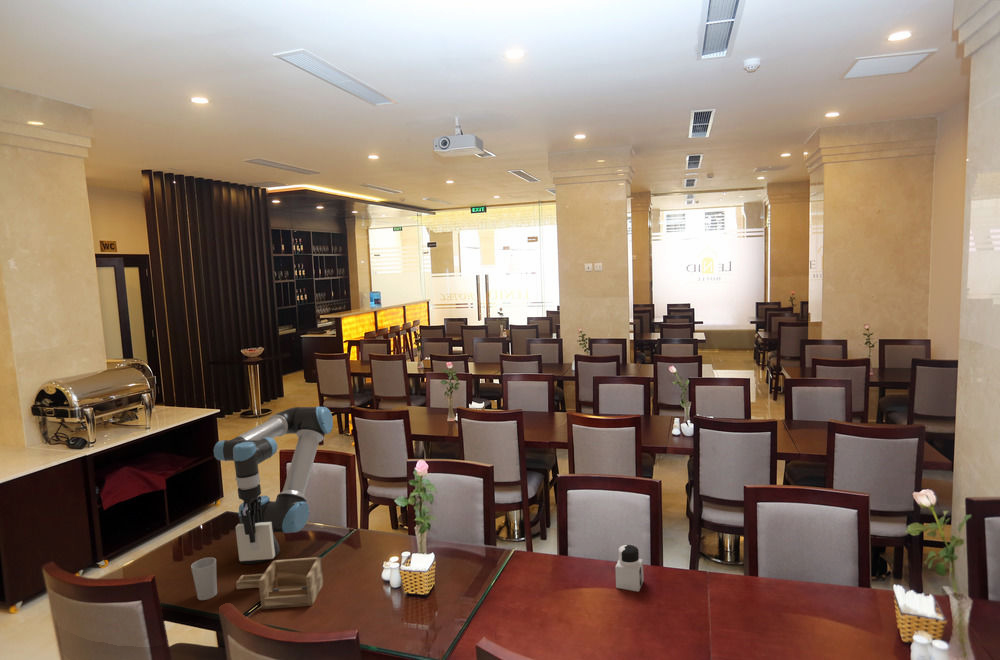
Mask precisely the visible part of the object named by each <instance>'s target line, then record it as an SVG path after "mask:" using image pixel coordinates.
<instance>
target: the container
mask: <svg viewBox="0 0 1000 660" xmlns="http://www.w3.org/2000/svg"><path fill="white" fill-rule="evenodd" d="M639 552H640V551H639V548H638V547H637V546H635V545H631V544H625V545H621V546H620V547H619V548H618V560H617V563H616V564H615V587H616V588H617V589H622V590H626V591H632V592H640V590H641V589H642V588H641V587H642V585H643V584H644V559H643V558H640V556H639V555H640V554H639Z"/></svg>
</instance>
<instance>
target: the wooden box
mask: <svg viewBox="0 0 1000 660" xmlns="http://www.w3.org/2000/svg"><path fill="white" fill-rule="evenodd" d="M322 566H323V565H322V557H321V556H317V557H316V556H315V557H303V558H302V557H301V558H289V559H287V558H286V559H276V560H273V561H272V562H271V563H270V564H269V566H268V567H267V568H266V570H265V571H264V572H263V573H262V574H263V576H262V577H261V578H260V580H259V588H258V590H259V597H260V598H259V599H260V607H261V610H270V609H282V608H284V609H286V608H295V607H308V606H309V607H310V606H313V605H314V604H315V601H316V599H317V597H318V596H319V593H320V591H321V589H322V588H323V585H324V575H323V567H322Z"/></svg>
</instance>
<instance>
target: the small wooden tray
mask: <svg viewBox="0 0 1000 660" xmlns="http://www.w3.org/2000/svg"><path fill="white" fill-rule="evenodd" d="M263 574H264V573H256V574H242V575H241V576H240V577H239V578H238V579H237V581H236V582H235V586H236V588H235V589H236V590H244V589H256V588H258V589H259V580H260V578H261V577H262V576H263Z"/></svg>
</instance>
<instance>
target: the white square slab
mask: <svg viewBox="0 0 1000 660" xmlns="http://www.w3.org/2000/svg"><path fill="white" fill-rule="evenodd" d="M255 531H256V532H257V538H258V546H259V550H253V551H251V550H250V542H249V535H245V530H244V524H240V523H238V524H237V525H236V526H235V535H236V543H237V551H238V552H237V553H238V561H239V562H240V561H250V560H263V559H270V560H273V559H274V558H275V557H276V556H275V549H274V540H273V534H274V532H273V531H272V522H261V523H255Z"/></svg>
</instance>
